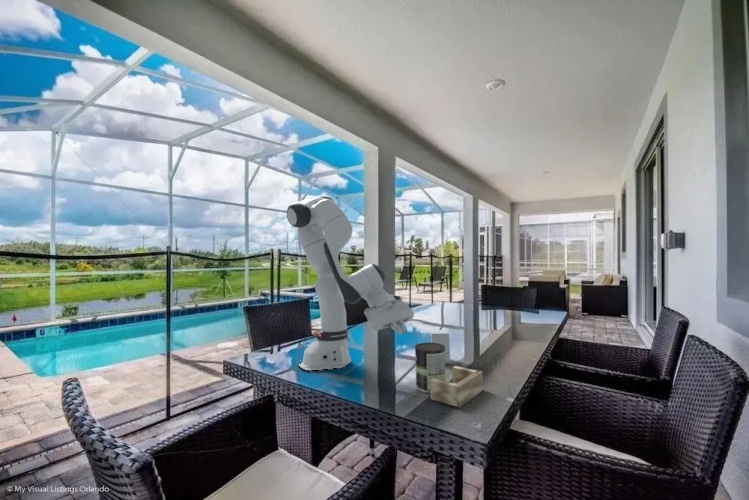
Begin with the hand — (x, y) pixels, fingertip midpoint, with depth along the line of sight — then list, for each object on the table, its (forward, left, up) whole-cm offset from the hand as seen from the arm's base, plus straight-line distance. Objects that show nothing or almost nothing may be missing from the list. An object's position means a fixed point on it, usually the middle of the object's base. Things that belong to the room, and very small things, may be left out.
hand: (403, 332), depth 126 cm
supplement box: (+25, +12, -17) cm, 33 cm away
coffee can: (+4, -10, -17) cm, 21 cm away
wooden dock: (+8, -20, -17) cm, 27 cm away
